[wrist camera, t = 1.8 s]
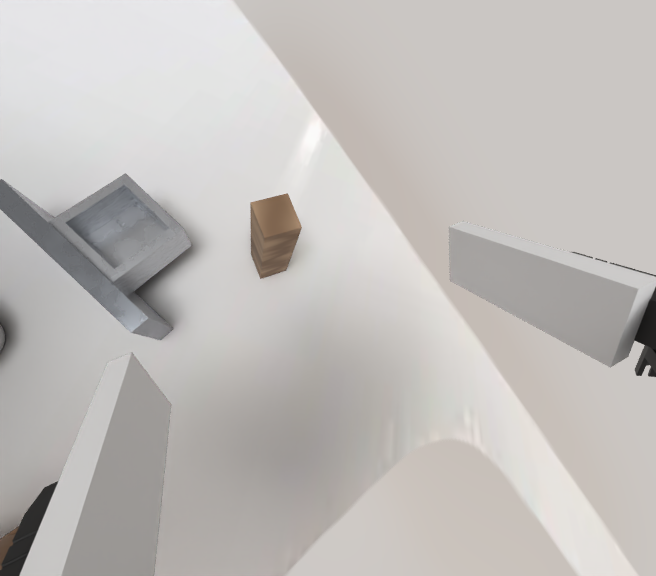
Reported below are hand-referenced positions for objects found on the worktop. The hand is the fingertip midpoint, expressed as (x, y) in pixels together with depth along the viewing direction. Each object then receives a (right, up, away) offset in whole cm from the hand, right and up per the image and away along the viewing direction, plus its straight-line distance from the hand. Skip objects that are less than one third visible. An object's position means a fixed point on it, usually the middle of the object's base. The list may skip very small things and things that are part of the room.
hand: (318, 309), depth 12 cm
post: (-8, +5, +32) cm, 34 cm away
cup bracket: (-24, +5, +29) cm, 38 cm away
